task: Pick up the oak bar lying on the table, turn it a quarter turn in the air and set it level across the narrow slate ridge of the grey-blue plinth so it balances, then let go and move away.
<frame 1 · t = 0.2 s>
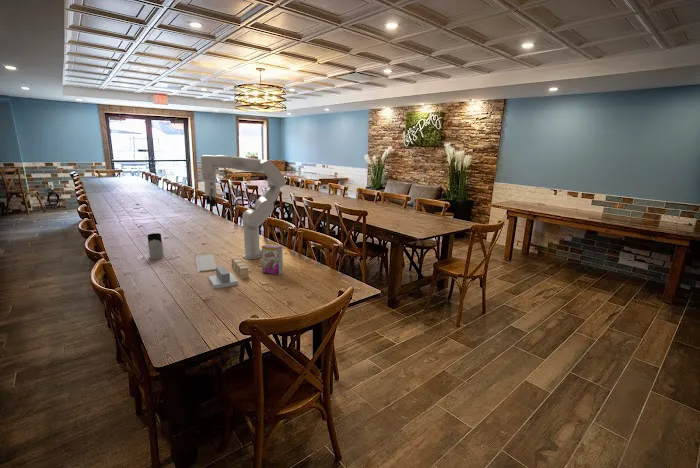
hand: (211, 205, 208), 36 cm above the table, tool pointing down, fingers open, 9 cm apart
candy bar box: (272, 273, 200), on the table
plinth: (223, 282, 185), on the table
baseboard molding: (204, 264, 214), on the table
glass holder: (157, 256, 226), on the table
oak bar: (239, 272, 201), on the table
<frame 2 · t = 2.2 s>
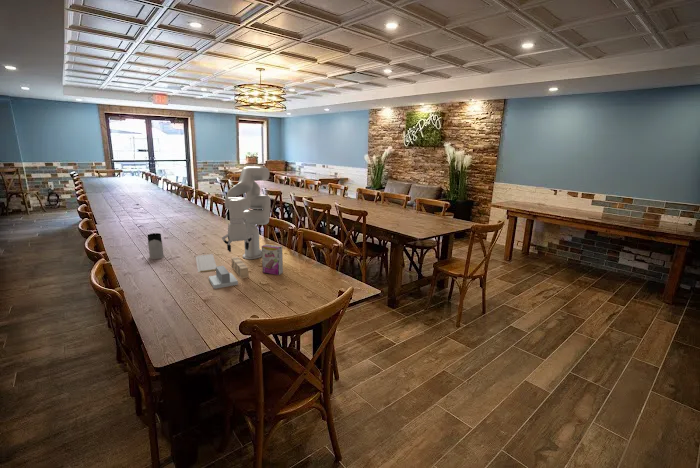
hand: (238, 250, 197), 13 cm above the table, tool pointing down, fingers open, 9 cm apart
nothing on the table moved.
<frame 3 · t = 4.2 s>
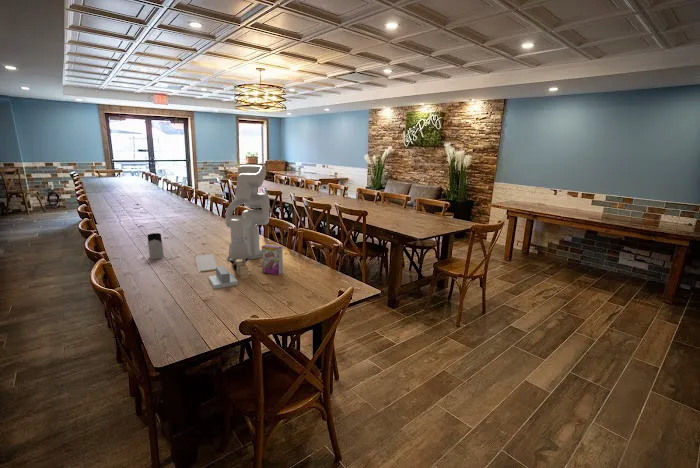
hand: (239, 269, 201), 1 cm above the table, tool pointing down, fingers closed on oak bar, 4 cm apart
oak bar: (239, 271, 201), on the table, touching gripper
everything else where it was.
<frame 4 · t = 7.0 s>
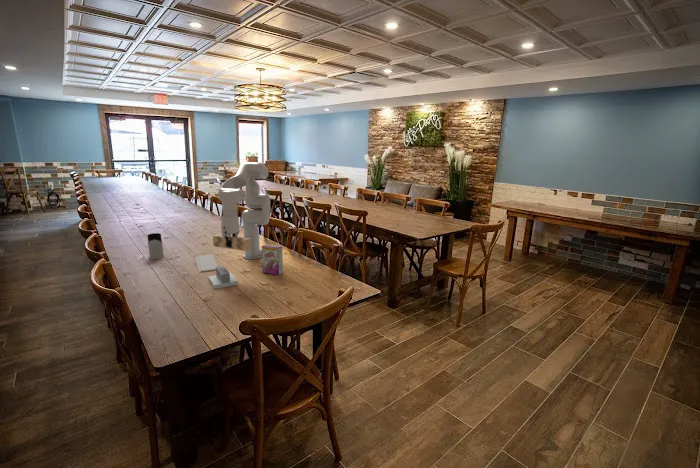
hand: (231, 245, 190), 18 cm above the table, tool pointing down, fingers closed on oak bar, 4 cm apart
oak bar: (232, 247, 191), point 17 cm above the table, touching gripper
everything else where it was.
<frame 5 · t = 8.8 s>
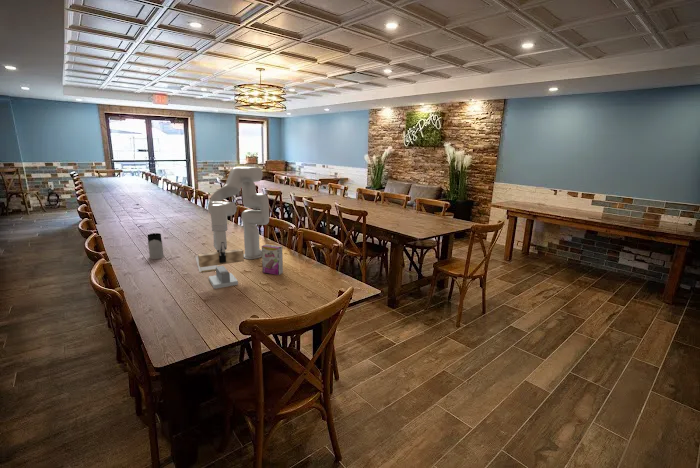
hand: (221, 261, 182), 12 cm above the table, tool pointing down, fingers closed on oak bar, 4 cm apart
oak bar: (221, 263, 182), point 11 cm above the table, touching gripper
everything else where it was.
when the fingers open (9 cm above the table, at t = 10.0 s): oak bar stays where it is, resting on plinth.
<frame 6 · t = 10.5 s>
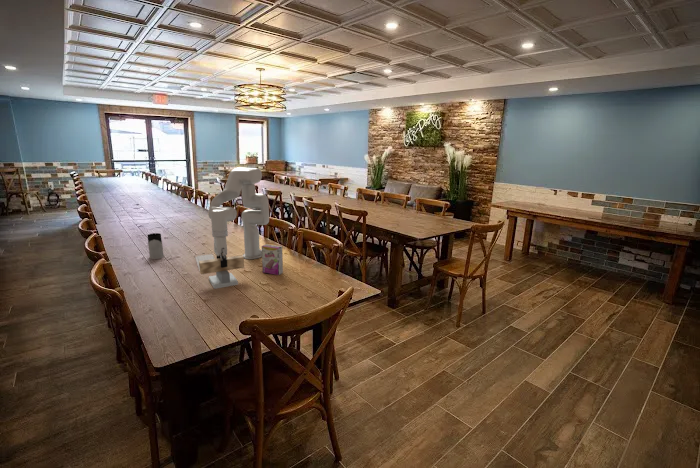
hand: (222, 264, 183), 10 cm above the table, tool pointing down, fingers open, 9 cm apart
oak bar: (222, 269, 183), point 7 cm above the table, touching plinth
everything else where it was.
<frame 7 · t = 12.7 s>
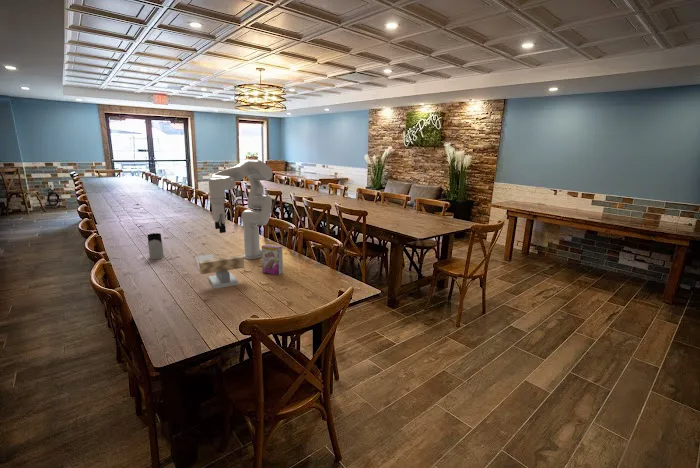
hand: (220, 230, 193), 25 cm above the table, tool pointing down, fingers open, 9 cm apart
nothing on the table moved.
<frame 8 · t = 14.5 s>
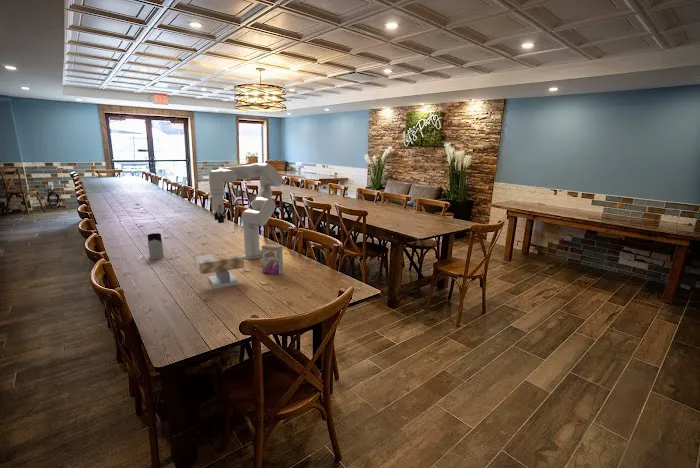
hand: (219, 221, 201), 28 cm above the table, tool pointing down, fingers open, 9 cm apart
nothing on the table moved.
at the end: oak bar inside the target area on the plinth (0.1 cm from its centre), point 7.0 cm above the plinth's base; oak bar tilted 0°; oak bar touching plinth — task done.
